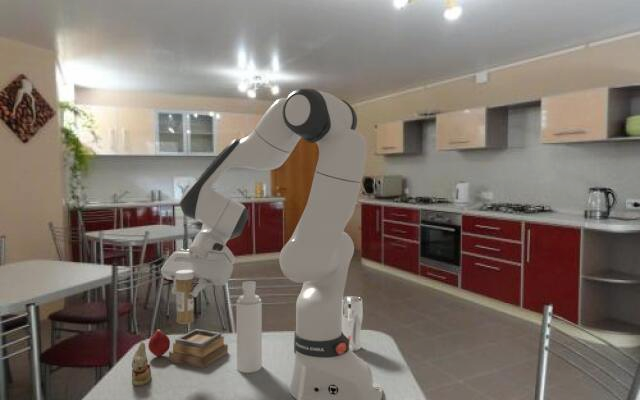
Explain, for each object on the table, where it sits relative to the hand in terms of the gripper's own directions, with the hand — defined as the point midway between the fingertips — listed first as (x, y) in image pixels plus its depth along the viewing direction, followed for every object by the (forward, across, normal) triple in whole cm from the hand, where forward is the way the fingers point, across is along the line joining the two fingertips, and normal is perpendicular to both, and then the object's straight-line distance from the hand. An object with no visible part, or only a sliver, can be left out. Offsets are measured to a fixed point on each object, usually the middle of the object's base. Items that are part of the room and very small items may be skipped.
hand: (183, 294), depth 116 cm
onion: (+11, -14, +19) cm, 26 cm away
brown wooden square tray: (+8, -3, +22) cm, 24 cm away
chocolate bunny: (+20, -8, +10) cm, 24 cm away
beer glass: (-9, +35, +39) cm, 53 cm away
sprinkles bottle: (+5, 0, +6) cm, 8 cm away
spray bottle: (+8, +14, +22) cm, 27 cm away
